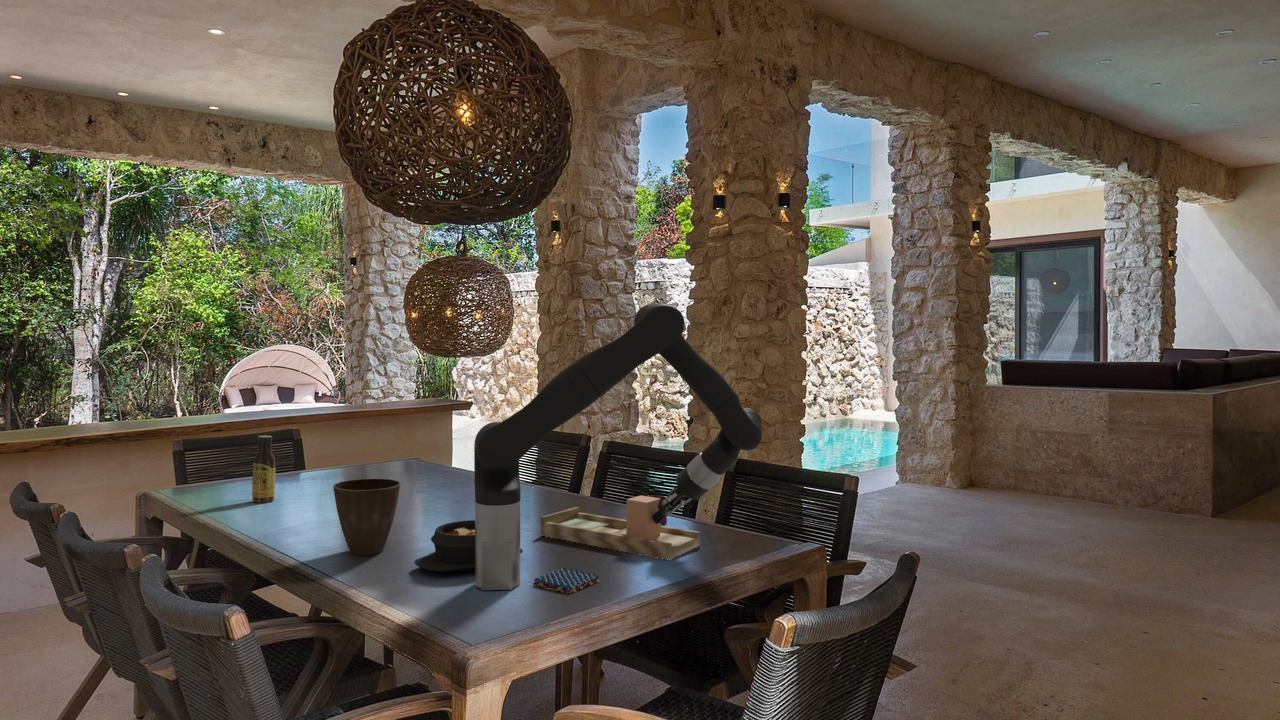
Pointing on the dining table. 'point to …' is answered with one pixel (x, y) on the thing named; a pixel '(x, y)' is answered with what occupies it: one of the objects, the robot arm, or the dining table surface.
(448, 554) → the casserole
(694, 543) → the tray
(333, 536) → the dining table surface
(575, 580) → the woven mat
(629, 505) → the terracotta block
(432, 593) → the dining table surface
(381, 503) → the plant pot
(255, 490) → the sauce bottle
